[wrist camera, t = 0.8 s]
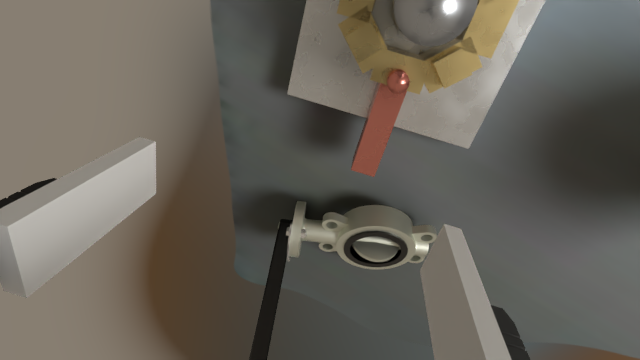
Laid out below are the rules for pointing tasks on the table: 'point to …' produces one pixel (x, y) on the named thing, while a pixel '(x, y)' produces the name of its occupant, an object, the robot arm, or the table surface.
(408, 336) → the table surface
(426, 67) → the yellow valve with lever
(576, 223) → the table surface
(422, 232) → the butterfly valve
